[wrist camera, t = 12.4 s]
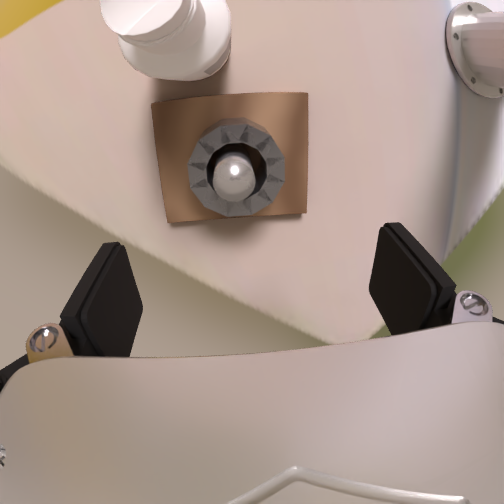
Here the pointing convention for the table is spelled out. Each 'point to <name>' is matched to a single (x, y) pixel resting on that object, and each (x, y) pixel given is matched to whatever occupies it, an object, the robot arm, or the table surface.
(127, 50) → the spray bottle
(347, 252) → the table surface
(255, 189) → the ring
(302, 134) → the walnut base
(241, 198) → the steel shaft
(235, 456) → the robot arm
